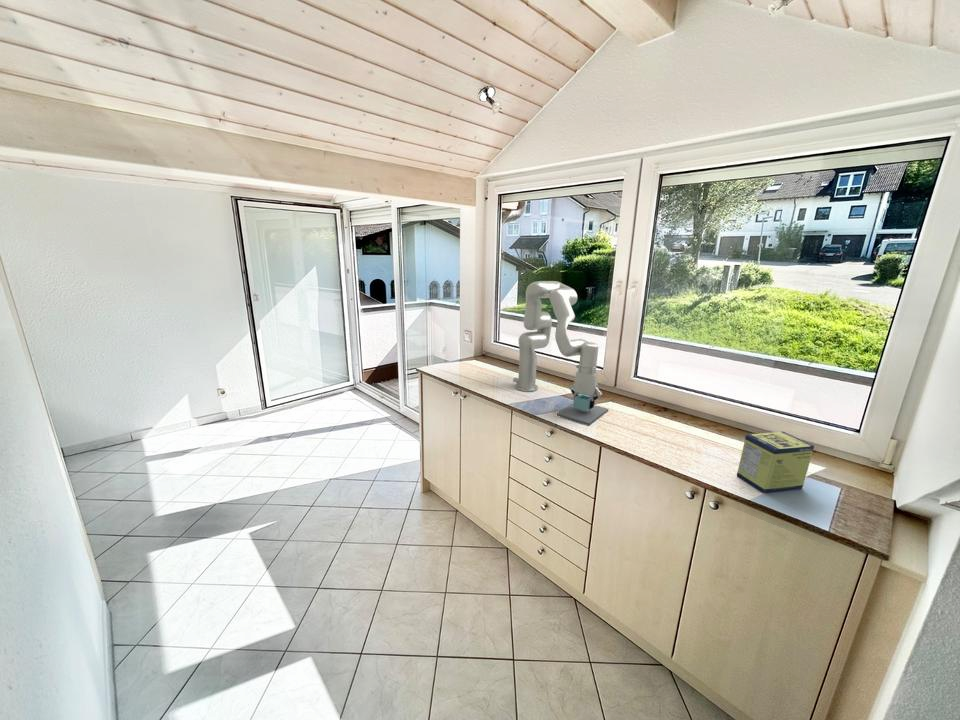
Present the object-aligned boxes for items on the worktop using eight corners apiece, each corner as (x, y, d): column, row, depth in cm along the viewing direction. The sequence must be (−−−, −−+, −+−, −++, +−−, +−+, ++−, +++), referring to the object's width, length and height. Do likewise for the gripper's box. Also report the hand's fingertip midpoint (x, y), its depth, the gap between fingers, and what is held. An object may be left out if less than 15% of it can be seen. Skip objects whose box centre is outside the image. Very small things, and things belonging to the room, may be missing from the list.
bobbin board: (556, 415, 173) (557, 403, 171) (577, 402, 189) (578, 391, 188) (589, 425, 163) (590, 412, 162) (608, 411, 180) (609, 399, 178)
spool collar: (573, 407, 175) (574, 397, 174) (579, 403, 180) (580, 393, 179) (587, 411, 171) (588, 401, 169) (593, 407, 176) (594, 397, 175)
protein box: (803, 489, 121) (815, 445, 117) (763, 494, 117) (775, 449, 113) (772, 471, 131) (783, 430, 127) (735, 475, 127) (744, 434, 123)
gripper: (566, 367, 173) (562, 403, 178) (602, 375, 163) (598, 413, 167) (573, 364, 179) (570, 399, 183) (609, 371, 168) (604, 408, 173)
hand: (583, 405), depth 175 cm, fingers closed on spool collar, 6 cm apart
